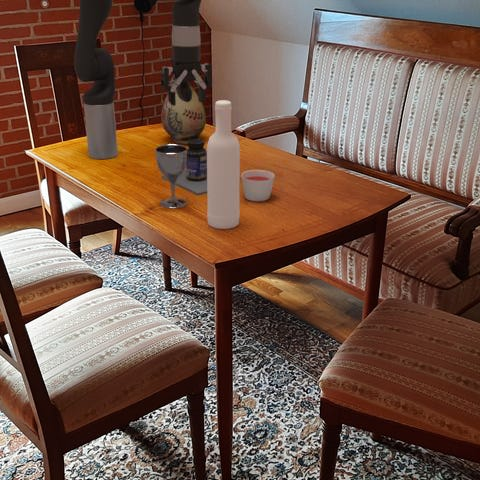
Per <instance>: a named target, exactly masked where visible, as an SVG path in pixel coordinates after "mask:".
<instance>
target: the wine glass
mask: <svg viewBox="0 0 480 480" xmlns="http://www.w3.org/2000/svg"><path fill="white" fill-rule="evenodd" d="M187 149H188V148H187V146H185V145H184V144H179V143H176V144H174V143H172V144H171V143H169V144H162V145H158V146H157V147H155V158H156V159H155V161H156V165H157V167H158V170H159V171H160V173H161V174H162V176H165V177H166V178H167V179H168V180H169V181H168V182H169V185H170V190H171V198H164V199H163V200H161V201H160V203H159V205H160V206H161V207H163V208H166V209H180V208H183V207H185V206H187V204H188V202H187V200H186V199H183V198H178V197H175V194H176V193H175V191H176V190H175V189H176V185H175V183H176V180H177V179H178V177H179V176H180V175H181V174H182V173H183V171H184V170H186V162H187Z"/></svg>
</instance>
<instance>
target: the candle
mask: <svg viewBox="0 0 480 480" xmlns="http://www.w3.org/2000/svg"><path fill="white" fill-rule="evenodd" d="M240 177H241V178H240V179H241V182H242V188H243V189H242V190H243V194H244V198H245V199H246V200H249V201H252V202H264V201H268V200H269V199H270V197H271V193H272V190H273V186H274V179H275V174H274V173H273V172H272V171H269V170H264V169H250V170H244V171H243V172H242V173H241V174H240Z"/></svg>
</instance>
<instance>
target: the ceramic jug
mask: <svg viewBox="0 0 480 480" xmlns="http://www.w3.org/2000/svg"><path fill="white" fill-rule="evenodd" d="M170 63H171V65H173V60H172V57H171V59H170ZM174 92H175V96H176V105H175V106H172V105H171V104H170V103H169V101H168V94H167V95H166V97H165V98H164V101H163V103H162V108H161V114H160V115H161V116H160V117H161V119H160V120H161V125H162V126H163V130H164V132H165V133H167V134H168V135H169V136H170V138H171V139H172V142H173V143H176V144H180V145H184V144H185V145H188V141H189V140H193V139H200V135H201V134H202V133H203V131H204V130H205V127H206V123H207V116H206V115H207V114H206V109H205V106H204V104H203V103H201V102H199V101H198V93H197V92H196V91H195V89H194V88H193V87H192V85H191V84H190V83H189V81H188V82H181V83H180V85H179V86H177V88H176V89H175V91H174Z"/></svg>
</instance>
